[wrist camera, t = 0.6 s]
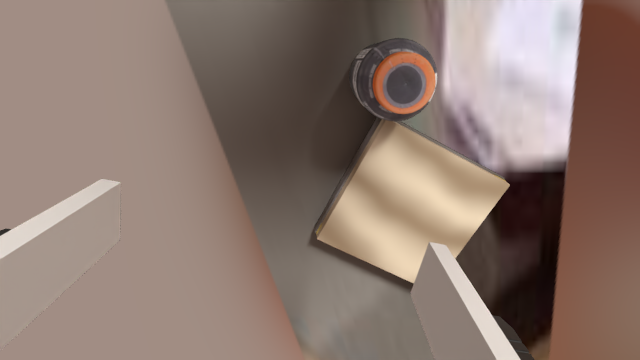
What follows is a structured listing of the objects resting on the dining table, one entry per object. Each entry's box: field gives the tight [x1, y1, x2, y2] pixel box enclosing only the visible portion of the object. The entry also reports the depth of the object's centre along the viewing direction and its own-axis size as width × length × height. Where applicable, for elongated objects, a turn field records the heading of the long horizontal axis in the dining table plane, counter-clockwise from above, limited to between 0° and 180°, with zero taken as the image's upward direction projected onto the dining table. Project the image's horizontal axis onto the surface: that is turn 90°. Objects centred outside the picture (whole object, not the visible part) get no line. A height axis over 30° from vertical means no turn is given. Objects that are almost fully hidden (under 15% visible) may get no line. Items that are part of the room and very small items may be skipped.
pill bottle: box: [349, 38, 437, 121], centre depth 28 cm, size 6×6×11 cm
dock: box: [314, 117, 510, 283], centre depth 36 cm, size 14×14×3 cm
